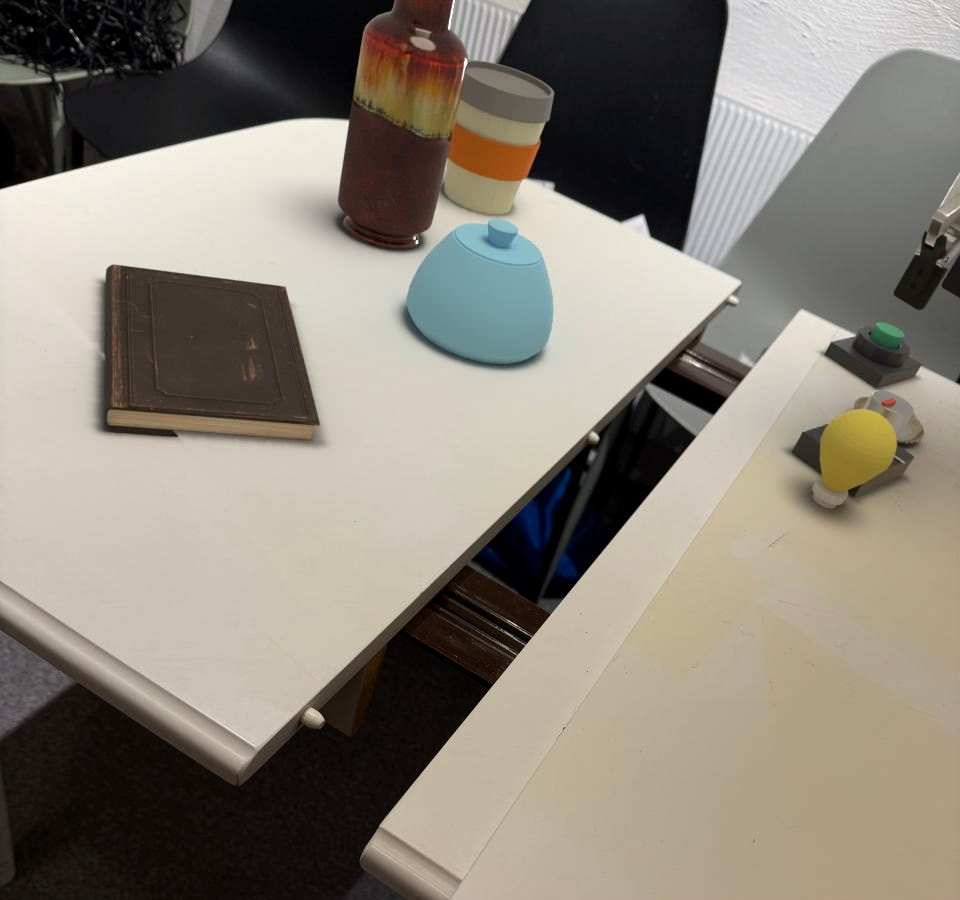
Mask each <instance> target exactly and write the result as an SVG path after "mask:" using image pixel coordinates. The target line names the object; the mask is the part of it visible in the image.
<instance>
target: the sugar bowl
mask: <svg viewBox="0 0 960 900" xmlns="http://www.w3.org/2000/svg"><path fill="white" fill-rule="evenodd" d="M546 265H547V264H546V262H545V259H544V255H543V254H542V251H540V249H539V247H538V246H537V245H536V244H535V243H533V242H532V240H530V239H528V238H526V237H524V236H523V235H521V234H519V227H517V225H515V224H514V223H513V222H511V221H509V220H507V219H503V218H490V219H488V220H487V224H486V223H482V222H481V223H479V222H472V223H471V222H469V223H464V224H461V225H459V226H457V227H455V228H454V229H453V230H451V231H449V233H448V234H446V236H444V237H443V238H442V239H441V240H440V241H439V242H438V243H437V244H436V245H435V246H434V247H433V248H431V250H430V252H429V253H427V255H426V256H425V257H424V258H423V260H422V262H421V263H420V265H419V266H418V268H417V269H416V271H415V273H414V275H413V277H412V280H411V282H410V284H409V287H408V291H407V295H406V307H407V311H408V313H409V316H410V317H411V319H412V321H413V323H414V325H415V327H416V328H417V329H418V331H419V332H420V333H421V334H422V335H423V336H424V337H425V338H426V339H427V340H428V341H430V342H431V343H433V344H434V345H436V346H437V347H439V348H441V349H443V350H445V351H446V352H449V353H451V354H453V355H456V356H457V357H461V358H464V359H468V360H471V361H474V362H479V363H484V364H491V365H511V364H516V363H520V362H524V361H526V360H528V359H530V358H531V357H533V356H535V355H536V354H538V353H540V352H541V351H542V350H543V349H544V348H545V346H547V344H548V342H549V339H550V337H551V333H552V329H553V324H554V323H553V322H554V295H553V290H552V285H551V280H550V276H549V272H548V269H547V266H546Z"/></svg>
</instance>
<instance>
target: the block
mask: <svg viewBox="0 0 960 900" xmlns="http://www.w3.org/2000/svg"><path fill="white" fill-rule="evenodd" d="M874 328H875V326H870V325H869V326H868V325H865V326H860V327H859V328H858V330H857V332H856V334H855V336H851V337H847V338H841V339H837V340H833V341H831V342H830V343H829V345H828V346H827V348H826V350H825V352H824V354H823V355H824V356H825V357H827V358H829V359H830V360H831V361H833V362H834V363H836V364H838V365H839V366H841V367H843V368H844V369H845V370H847V371H848V372H850V373H851V374H853V375H855V376H856V377H857V378H859V379H861V380H862V381H864V382H866V383H867V384H869V385H870V386H872V387H873V388H874V389H880V388H882V387H885V386H889V385H892V384H895V383H898V382H902V381H905V380H909V379H911V378H915V377H916V375H917V374H918V372H919V370H920V368H921V367H922V365H923V364H922V363H921V362H919V361H917V360H916V359H915V358H912V357H911V356H909V354H910V352H911V349H910V348H911V347H910V346H909V345H908V344H907V343H906V342H905V341H904V340H903V339H902V341H901V343H900V344H899V346H898V348H897V349H893V348H888V347H886V346H883V345H881V344H879V343H877V342H876V341H874V340H873V339H872V338H871V337H870V335H871V333H872V331H873V330H874Z"/></svg>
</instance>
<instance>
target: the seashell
mask: <svg viewBox="0 0 960 900" xmlns="http://www.w3.org/2000/svg"><path fill="white" fill-rule="evenodd" d="M869 398H870V396H865V397H863V396H862V397H859V398H858V399H856V400H855V402H854V408H853V410H857V409H863V408H864V406H865V404H866V403H867V401H868V399H869ZM916 415H917V414H915V411H914V412H913V414H912V416H911V417H910V419H909V420H908V422H907V423H906V425H905V427H904V428H903V430H902V431H901V433H900V434H899V436H898V437H897V444H904V445H908V444H915V443H916V444H917V443H918V442H920V441H921V440H922V439H924V436H925V429H924V426H923V424H922V423H921V421H920V420H919V419H918V418H917V416H916Z"/></svg>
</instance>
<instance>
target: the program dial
mask: <svg viewBox="0 0 960 900" xmlns="http://www.w3.org/2000/svg"><path fill="white" fill-rule="evenodd" d="M869 397H870V398H869V399H868V401H867V403H866V404H865V406H864V408H863V409H865V410H870V411H874V412H876V413H878V414H880V415H882V416H883V417H884V418H886V419H887V420H888V421H889V423H890V424H891V425H892V427H893V429H894V432H895V434H896V439H897V437H898V436H899V434H900V433H901V431H902V430H903V428H904V427H905V425H906V423H907V422H908V420H909V419H910V417H911V416H912V414H913V412H914V413H915V411H914V407H913V406H912V404H910V403H909V402H908V401H907V400H906V399H904V398H903V397H901V396H899V395H897V394H895V393H893V392H890V391H886V390H882V389H880V390H879V389H878V390H877V389H876V390H874V391H872V392H871V394H870V396H869Z"/></svg>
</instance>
